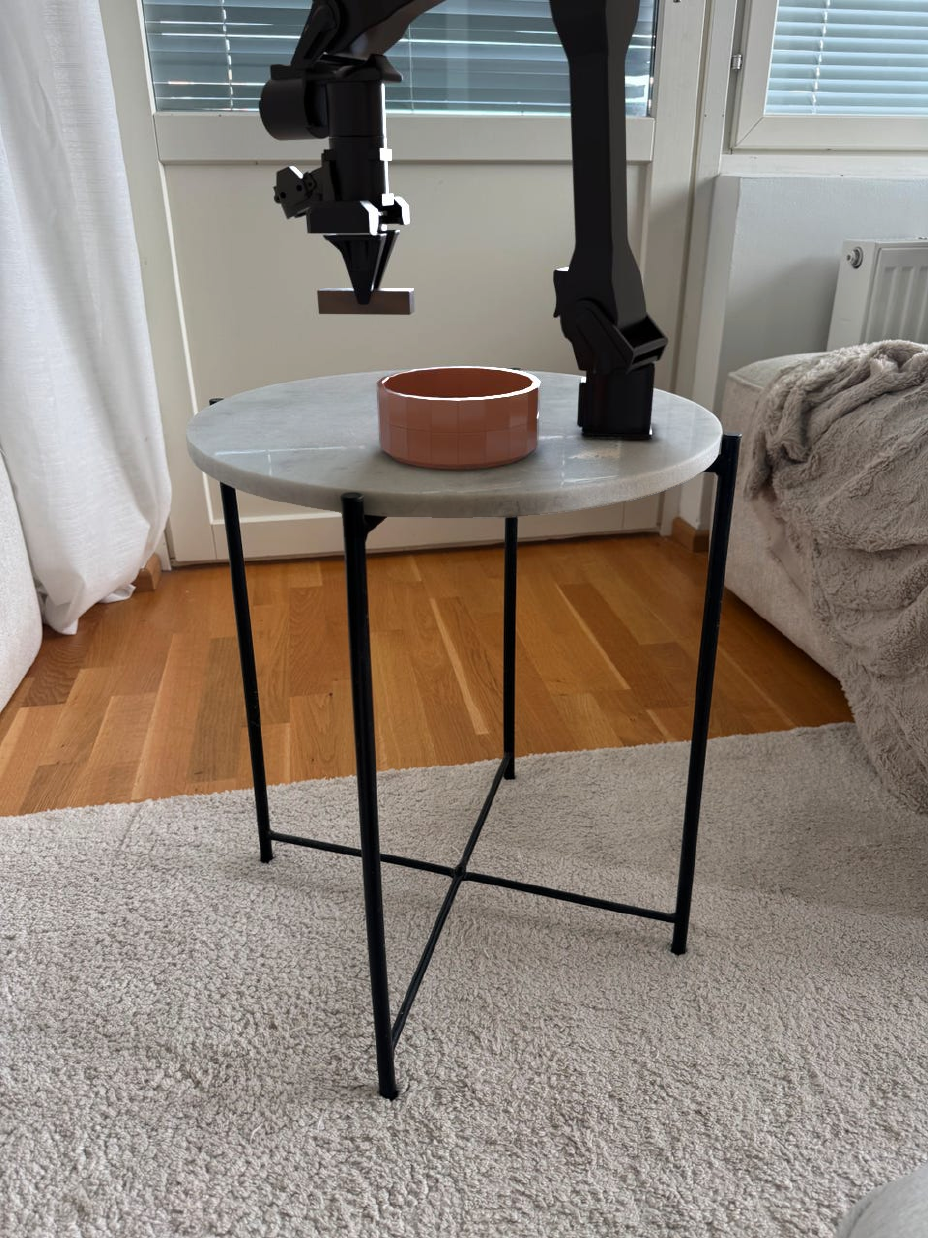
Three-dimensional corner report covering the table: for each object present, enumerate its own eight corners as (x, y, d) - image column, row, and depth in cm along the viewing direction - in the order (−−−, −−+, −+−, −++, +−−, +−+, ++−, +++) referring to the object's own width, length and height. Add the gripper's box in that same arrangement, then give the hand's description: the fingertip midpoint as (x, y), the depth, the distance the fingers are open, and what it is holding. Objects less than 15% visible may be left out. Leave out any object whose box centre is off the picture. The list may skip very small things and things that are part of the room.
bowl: (543, 431, 88) (545, 367, 85) (530, 475, 75) (532, 402, 73) (399, 426, 90) (396, 364, 87) (362, 468, 77) (358, 397, 75)
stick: (414, 311, 98) (413, 288, 97) (410, 314, 96) (409, 290, 95) (325, 311, 100) (323, 287, 99) (318, 314, 98) (316, 290, 97)
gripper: (308, 142, 100) (319, 292, 107) (245, 135, 84) (263, 314, 91) (407, 140, 99) (413, 292, 105) (363, 133, 82) (373, 315, 89)
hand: (366, 302), depth 98 cm, fingers closed on stick, 2 cm apart
